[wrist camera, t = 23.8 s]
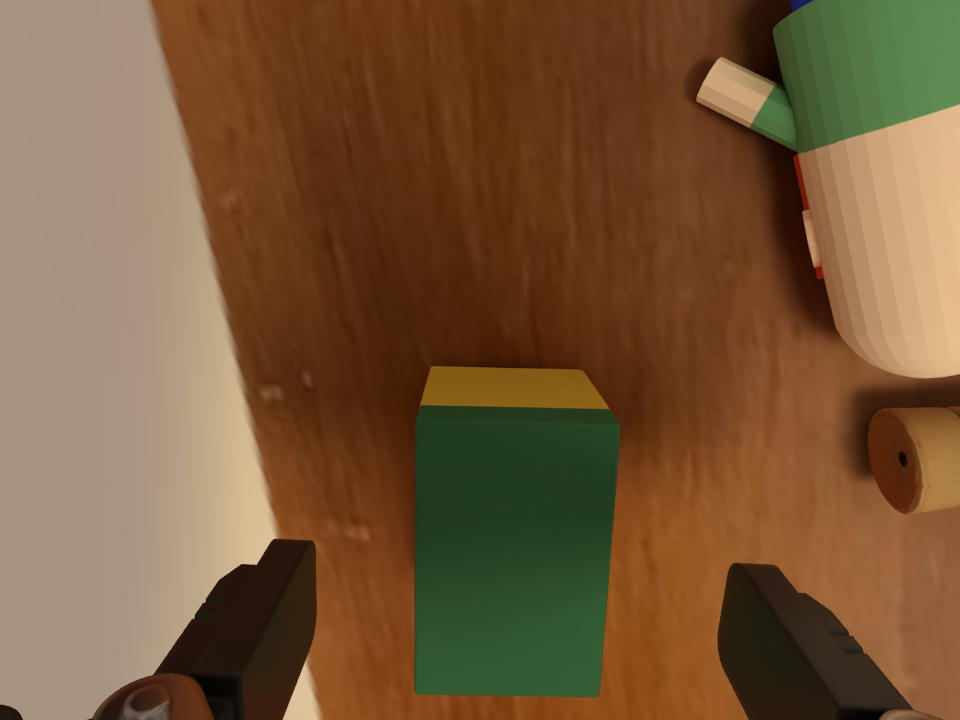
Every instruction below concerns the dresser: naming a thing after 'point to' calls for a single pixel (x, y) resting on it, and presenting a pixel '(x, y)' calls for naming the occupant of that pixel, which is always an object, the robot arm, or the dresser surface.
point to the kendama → (916, 457)
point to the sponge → (512, 531)
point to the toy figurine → (870, 165)
